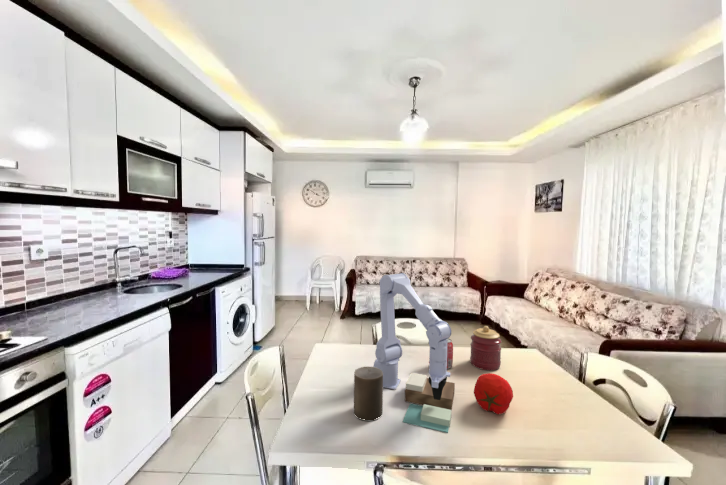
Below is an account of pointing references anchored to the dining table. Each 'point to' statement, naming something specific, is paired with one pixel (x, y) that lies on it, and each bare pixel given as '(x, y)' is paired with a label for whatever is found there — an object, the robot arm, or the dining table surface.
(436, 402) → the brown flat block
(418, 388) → the off-white flat block
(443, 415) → the pale green block
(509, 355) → the dining table surface
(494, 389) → the tomato
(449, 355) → the soda can
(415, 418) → the mat
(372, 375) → the pillar candle
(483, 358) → the canister
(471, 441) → the dining table surface
